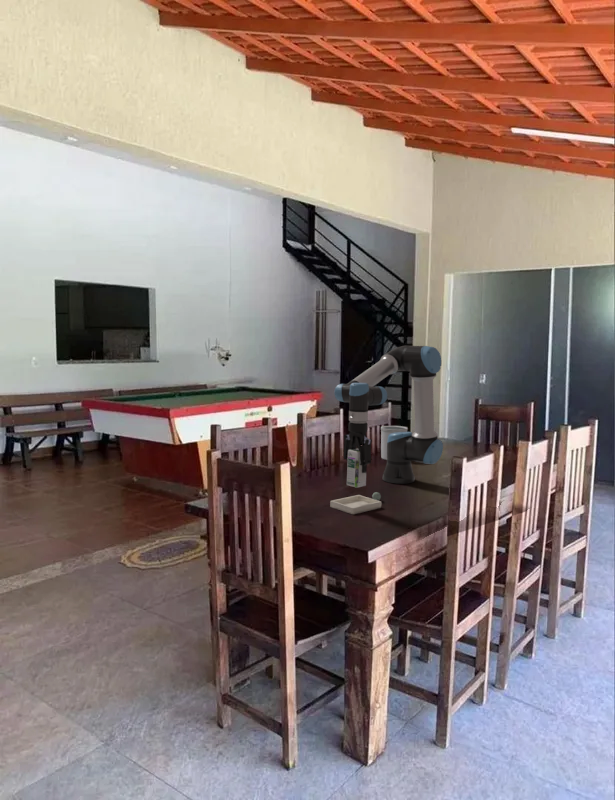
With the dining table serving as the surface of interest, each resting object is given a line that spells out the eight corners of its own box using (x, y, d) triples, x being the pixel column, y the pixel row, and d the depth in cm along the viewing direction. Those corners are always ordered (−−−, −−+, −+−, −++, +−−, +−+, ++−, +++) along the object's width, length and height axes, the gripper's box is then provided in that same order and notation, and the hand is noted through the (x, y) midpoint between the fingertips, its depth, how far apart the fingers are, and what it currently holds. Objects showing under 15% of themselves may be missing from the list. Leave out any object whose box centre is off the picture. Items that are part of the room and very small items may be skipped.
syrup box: (346, 485, 251) (347, 449, 249) (356, 483, 255) (357, 448, 253) (356, 488, 247) (357, 451, 245) (366, 485, 251) (367, 450, 249)
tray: (358, 500, 262) (358, 494, 262) (381, 507, 252) (381, 501, 252) (330, 506, 252) (330, 500, 251) (352, 514, 242) (352, 508, 242)
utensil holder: (375, 456, 356) (376, 425, 354) (399, 455, 360) (400, 425, 358) (386, 461, 342) (387, 429, 340) (411, 460, 346) (412, 429, 344)
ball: (376, 499, 265) (376, 490, 265) (382, 500, 262) (382, 492, 262) (370, 500, 263) (370, 492, 262) (376, 502, 260) (376, 493, 259)
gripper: (335, 419, 253) (333, 475, 255) (368, 425, 238) (366, 485, 241) (348, 418, 258) (347, 473, 260) (382, 424, 243) (380, 482, 246)
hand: (356, 478), depth 251 cm, fingers closed on syrup box, 6 cm apart
